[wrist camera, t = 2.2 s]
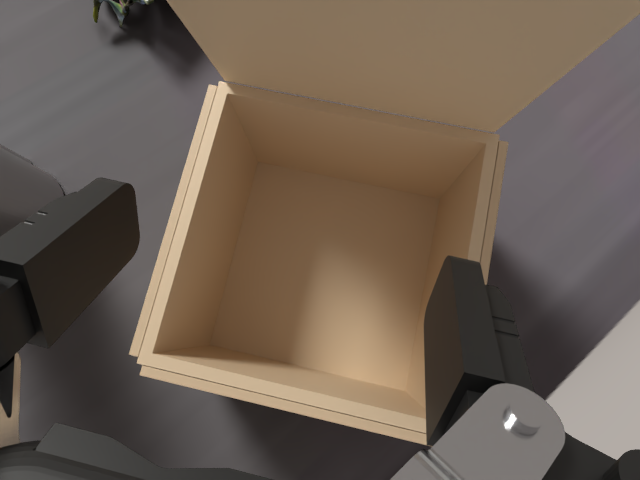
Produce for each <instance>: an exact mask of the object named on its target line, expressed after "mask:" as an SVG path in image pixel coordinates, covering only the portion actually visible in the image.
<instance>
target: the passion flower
mask: <svg viewBox="0 0 640 480" xmlns="http://www.w3.org/2000/svg"><path fill="white" fill-rule="evenodd" d="M102 1H107V2H109V3H110V5H111V6H112V7H113V10H114V12H115V13H116V15H117V17H118V20H119V23H120V26H119V27H120V28H122V25H123V19H124V18H125V17H126V15H128V12H129V7H128V6H130V5H132V4H133V3H135V2H139V3H140V4H142V5H144V4H147V5H150V4H151V3H153V2H154V0H129V1H127V0H119V1H120V3H119V4H118V3H116V2H114V1H112V0H94V12H93V18H94V21H95V22H96V23H97V20H98V12H99V9H100V5H101V3H102Z"/></svg>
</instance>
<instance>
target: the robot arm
mask: <svg viewBox="0 0 640 480" xmlns="http://www.w3.org/2000/svg"><path fill="white" fill-rule="evenodd" d="M139 239H140V232H139V224H138V215H137V206H136V197H135V191H134V188H133V186H132V185H131V184H128V183H124V182H119V181H115V180H110V179H106V178H97V179H95V180H94V181H92V182H91V183H90V184H88V185H87V186H85V187H84V188H83V189H81V190H80V191H78V192H74V193H71V194H68V195H65V196H64V194H63V191H62V189H61V187H60V185H59V183H58V182H57V181H56V180H55V179H54V178H53V177H52V176H51V175H49V174H48V173H46V172H45V171H43V170H41V169H39V168H37V167H35V166H34V165H32V164H31V162H30V160H28V159H26V158H24V157H22V156H21V155H19V154H17V153H15V152H13V151H12V150H10V149H8V148H6V147H4V146H2V145H1V144H0V480H272V479H268V478H265V477H261V476H257V475H253V474H249V473H246V472H242V471H238V470H234V469H230V468H186V469H167V468H161V467H159V466H156V465H155V464H153V463H152V462H150V461H148V460H147V459H145V458H144V457H142V456H140V455H139V454H137V453H136V452H134V451H132V450H131V449H129V448H128V447H126V446H124V445H123V444H121V443H120V442H118V441H116V440H115V439H113V438H112V437H109V436H105V435H101V434H97V433H93V432H90V431H86V430H82V429H78V428H74V427H71V426H67V425H63V424H59V423H55V424H54V425H53V426H52V428H51V429H50V430H49V431H48V433H47V434H46V435H45V437H44V438H43V439H42V441H31V442H23V443H20V439H19V400H20V372H21V358H20V355H19V352H18V351H19V350H20V349H21V348H22V347H23V346H24V345H25V344H26V343H30V344H34V345H37V346H41V347H45V348H50V347H51V346H52V344H53V343H54V342H55V341H56V340H57V339H58V338H59V337H60V336H61V335H62V334H63V332H64V331H65V330H66V329H67V328H68V327H69V326H70V325H71V324H72V323H73V322H74V321H75V319H76V318H77V317H78V316H79V315H80V314H81V313H82V312H83V311H84V310H85V309H86V307H87V306H88V305H89V304H90V303H91V302H92V301H93V300H94V299H95V298H96V297H97V296H98V294H99V293H100V292H101V291H102V290H103V289H104V288H105V287H106V286H107V285H108V284H109V282H110V281H111V280H112V279H113V278H114V277H115V276H116V275H117V274H118V273H119V272H120V271H121V269H122V268H123V267H124V266H125V265H126V264H127V263H128V262H129V261H130V260H131V259H132V257H133V256H134V254H135V253H136V251H137V248H138V245H139ZM514 322H515V320H514V316H513V312H512V308H511V305H510V303H509V302H508V300H507V299H506V298H505V297H504V295H503V294H502V293H501V291H500V290H499V289H498V287H494V286H489V285H485V282H484V278H483V273H482V268H481V264H480V263H479V262H477V261H472V260H468V259H463V258H459V257H454V256H450V255H448V256H447V257H446V258H445V260H444V262H443V265H442V267H441V270H440V272H439V275H438V278H437V280H436V283H435V285H434V288H433V290H432V293H431V296H430V298H429V301H428V304H427V307H426V311H425V317H424V361H425V401H426V441H427V445H429V446H433V447H432V448H430V449H429V450H428V451H426V450H425V449H422V450H421V451H419V452H418V453H417V454H415V455H414V456H413V457H412V458H411V459H410V460H409V461H408V462H407V463H406V464H405V465H404V466H403V467H402V468H401V469H400V470H399V471H398V472H397V473H396V474H395V475H394V476H393V477H392V478H391V479H390V480H640V450H630V451H628V452H626V453H624V454H623V455H622V456H621V457H620V458H619V459H618V460H615V459H613V458H611V457H609V456H607V455H606V454H603V453H602V452H600V451H598V450H596V449H594V448H592V447H590V446H588V445H586V444H584V443H582V442H580V441H579V440H577V439H575V438H573V437H572V436H570V435H569V434H567V433H566V432H565V431H564V427H563V424H562V422H561V420H560V418H559V416H558V415H557V413H556V412H555V411H554V410H553V408H552V407H551V406H550V405H549V404H548V403H547V402H546V401H545V400H544V399H542V398H541V397H540V396H538V395H537V394H535V393H534V389H533V386H532V382H531V378H530V375H529V371H528V367H527V364H526V360H525V356H524V353H523V349H522V345H521V342H520V339H518V336H519V334H518V331H517V327H516V324H514Z"/></svg>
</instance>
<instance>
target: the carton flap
mask: <svg viewBox="0 0 640 480" xmlns="http://www.w3.org/2000/svg"><path fill="white" fill-rule="evenodd" d="M166 1H167V2H168V3H169V5H170V6H171V7H172V9H173V10H174V12H175V13H176V14H177V16H178V17H179V18H180V20H181V21H182V23H183V24H184V25H185V27H186V28H187V29H188V31H189V32H190V33H191V35H192V36H193V38H194V39H195V40H196V42H197V43H198V44H199V46H200V47H201V49H202V50H203V51H204V53H205V54H206V55H207V57H208V58H209V60H210V61H211V62H212V64H213V65H214V66H215V68H216V69H217V71H218V72H219V73H220V75H221V76H222V77H223V79H224V80H225V81H228V82H234V83H239V84H244V85H249V86H254V87H260V88H265V89H270V90H275V91H280V92H286V93H291V94H296V95H301V96H307V97H312V98H317V99H322V100H327V101H333V102H338V103H343V104H348V105H353V106H359V107H364V108H369V109H374V110H380V111H385V112H390V113H395V114H400V115H406V116H411V117H416V118H421V119H427V120H432V121H437V122H442V123H447V124H453V125H458V126H463V127H468V128H473V129H479V130H484V131H489V132H495V131H497V130H498V129H499V128H500V127H501V126H503V125H504V124H505V123H506V122H508V121H509V120H510V119H511V118H512V117H514V116H515V115H516V114H517V113H519V112H520V111H521V110H522V109H523V108H525V107H526V106H527V105H528V104H530V103H531V102H532V101H533V100H534V99H536V98H537V97H538V96H539V95H541V94H542V93H543V92H544V91H546V90H547V89H548V88H549V87H550V86H552V85H553V84H554V83H555V82H557V81H558V80H559V79H560V78H561V77H563V76H564V75H565V74H566V73H568V72H569V71H570V70H571V69H572V68H574V67H575V66H576V65H577V64H579V63H580V62H581V61H582V60H583V59H585V58H586V57H587V56H588V55H590V54H591V53H592V52H593V51H595V50H596V49H597V48H598V47H599V46H601V45H602V44H603V43H604V42H606V41H607V40H608V39H609V38H610V37H612V36H613V35H614V34H615V33H617V32H618V31H619V30H620V29H621V28H623V27H624V26H625V25H626V24H628V23H629V22H630V21H631V20H633V19H634V18H635V17H636V16H637V15H639V14H640V0H166Z"/></svg>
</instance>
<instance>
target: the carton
mask: <svg viewBox="0 0 640 480" xmlns="http://www.w3.org/2000/svg"><path fill="white" fill-rule="evenodd" d="M499 136H500V135H497V134H492V133H487V132H481V131H476V130H471V129H466V128H461V127H455V126H450V125H445V124H440V123H435V122H429V121H424V120H419V119H414V118H409V117H403V116H398V115H393V114H388V113H383V112H377V111H372V110H367V109H362V108H356V107H351V106H346V105H341V104H336V103H330V102H325V101H320V100H315V99H310V98H304V97H299V96H294V95H289V94H284V93H278V92H273V91H268V90H263V89H257V88H252V87H247V86H242V85H237V84H231V83H226V82H221V81H219V84H218V87H217V86H214V85H209V87H208V90H207V93H206V97H205V100H204V104H203V107H202V110H201V114H200V117H199V120H198V124H197V127H196V130H195V134H194V137H193V140H192V144H191V147H190V151H189V154H188V157H187V161H186V164H185V167H184V171H183V174H182V177H181V181H180V184H179V188H178V191H177V194H176V198H175V201H174V204H173V208H172V211H171V214H170V218H169V221H168V224H167V228H166V231H165V235H164V238H163V241H162V245H161V248H160V251H159V255H158V258H157V261H156V265H155V268H154V272H153V275H152V278H151V282H150V285H149V288H148V292H147V295H146V298H145V302H144V305H143V308H142V312H141V315H140V319H139V322H138V325H137V329H136V332H135V335H134V339H133V342H132V345H131V349H130V352H129V355H133V356H137V357H138V360H137V363H138V364H142V368H141V372H140V375H141V376H145V377H149V378H153V379H158V380H162V381H166V382H170V383H174V384H178V385H182V386H186V387H190V388H194V389H198V390H203V391H207V392H211V393H215V394H219V395H223V396H227V397H231V398H235V399H239V400H244V401H248V402H252V403H256V404H260V405H264V406H268V407H272V408H276V409H280V410H284V411H289V412H293V413H297V414H301V415H305V416H309V417H313V418H317V419H321V420H325V421H330V422H334V423H338V424H342V425H346V426H350V427H354V428H358V429H362V430H366V431H370V432H375V433H379V434H383V435H387V436H391V437H395V438H399V439H403V440H407V441H411V442H415V443H420V444H424V445H427V441H426V401H425V361H424V317H425V311H426V307H427V304H428V301H429V298H430V296H431V293H432V290H433V288H434V285H435V283H436V280H437V278H438V275H439V272H440V270H441V267H442V265H443V262H444V260H445V258H446V257H447V256H448V255H450V256H454V257H459V258H463V259H468V260H472V261H477V262H479V263H480V264H481V268H482V273H483V278H484V282H485V285H487V279H488V273H489V266H490V260H491V253H492V247H493V240H494V233H495V227H496V220H497V214H498V207H499V201H500V194H501V187H502V181H503V174H504V168H505V161H506V155H507V148H508V142H505V141H499ZM428 446H429V445H428ZM432 447H433V446H432Z"/></svg>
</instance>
